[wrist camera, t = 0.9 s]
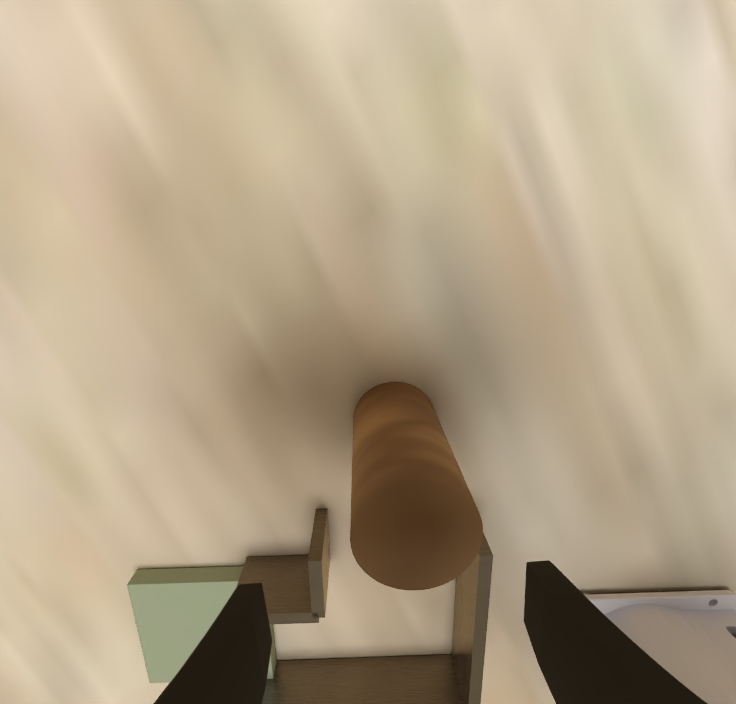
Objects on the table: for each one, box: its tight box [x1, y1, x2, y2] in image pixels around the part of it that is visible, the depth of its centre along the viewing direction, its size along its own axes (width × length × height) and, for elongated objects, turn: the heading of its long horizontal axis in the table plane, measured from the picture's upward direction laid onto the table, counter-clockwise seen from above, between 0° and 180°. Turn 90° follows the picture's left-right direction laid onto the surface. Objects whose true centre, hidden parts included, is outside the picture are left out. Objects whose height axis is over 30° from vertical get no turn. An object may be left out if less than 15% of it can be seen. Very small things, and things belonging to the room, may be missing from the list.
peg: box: [350, 382, 483, 590], centre depth 16 cm, size 4×4×8 cm
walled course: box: [236, 509, 493, 704], centre depth 21 cm, size 12×11×4 cm
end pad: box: [127, 566, 277, 683], centre depth 22 cm, size 7×7×1 cm
